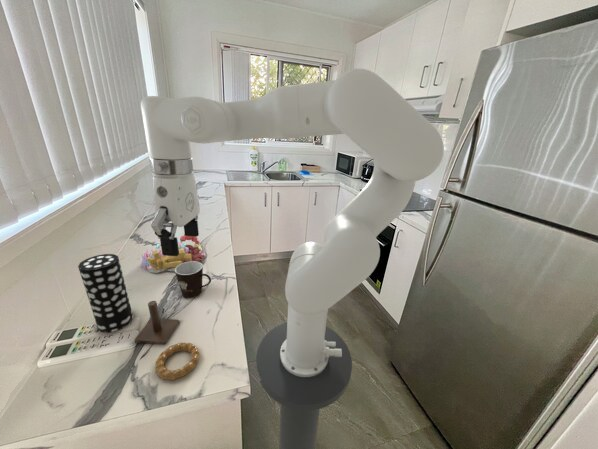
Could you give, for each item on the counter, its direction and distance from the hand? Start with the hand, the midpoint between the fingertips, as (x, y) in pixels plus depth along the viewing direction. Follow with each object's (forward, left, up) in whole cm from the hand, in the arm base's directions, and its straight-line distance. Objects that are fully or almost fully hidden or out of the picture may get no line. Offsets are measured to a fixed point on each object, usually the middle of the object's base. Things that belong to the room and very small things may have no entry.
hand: (182, 244), depth 54 cm
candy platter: (+27, -43, -30) cm, 59 cm away
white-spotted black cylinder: (+26, -6, -30) cm, 40 cm away
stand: (+12, -3, -30) cm, 32 cm away
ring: (+2, +6, -29) cm, 29 cm away
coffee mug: (+9, -20, -30) cm, 37 cm away
